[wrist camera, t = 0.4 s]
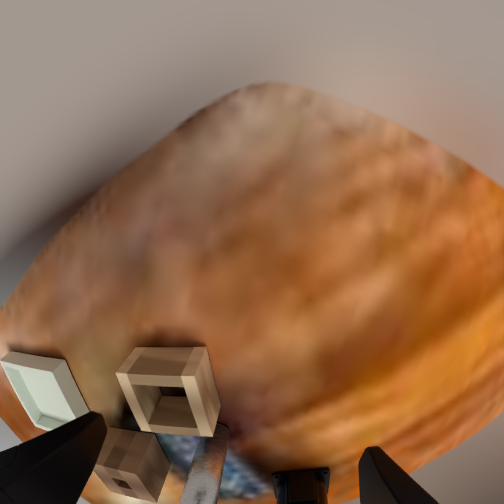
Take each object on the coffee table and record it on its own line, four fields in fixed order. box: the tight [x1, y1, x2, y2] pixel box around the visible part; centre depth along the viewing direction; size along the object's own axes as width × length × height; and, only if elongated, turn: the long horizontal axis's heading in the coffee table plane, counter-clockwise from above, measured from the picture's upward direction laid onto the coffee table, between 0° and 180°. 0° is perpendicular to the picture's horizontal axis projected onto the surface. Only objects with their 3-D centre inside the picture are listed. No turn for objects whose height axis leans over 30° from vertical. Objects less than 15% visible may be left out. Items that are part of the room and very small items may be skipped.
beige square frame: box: [116, 347, 221, 437], centre depth 22 cm, size 6×6×4 cm
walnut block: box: [93, 427, 170, 502], centre depth 24 cm, size 6×6×6 cm
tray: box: [0, 351, 90, 431], centre depth 25 cm, size 10×10×2 cm
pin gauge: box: [180, 423, 230, 504], centre depth 20 cm, size 3×3×10 cm
